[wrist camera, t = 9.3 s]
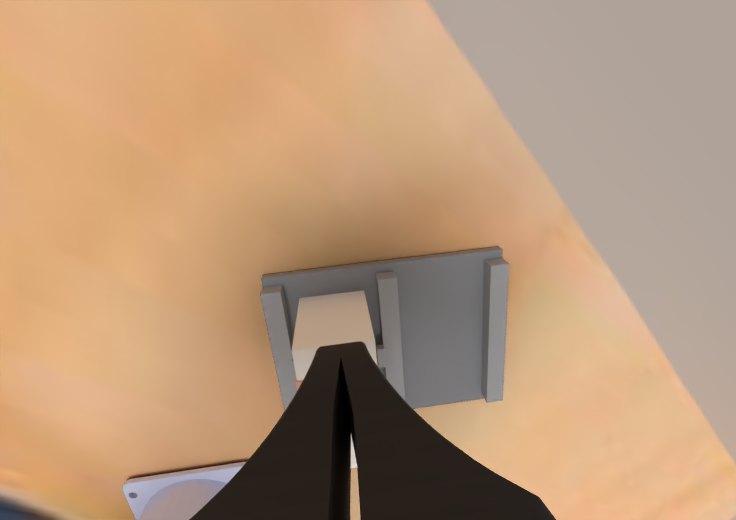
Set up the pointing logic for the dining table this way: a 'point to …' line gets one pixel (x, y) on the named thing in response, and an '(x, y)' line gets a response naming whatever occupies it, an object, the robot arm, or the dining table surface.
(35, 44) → the dining table surface
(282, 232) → the dining table surface
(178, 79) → the dining table surface
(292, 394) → the grey ribbed plate
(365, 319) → the block
